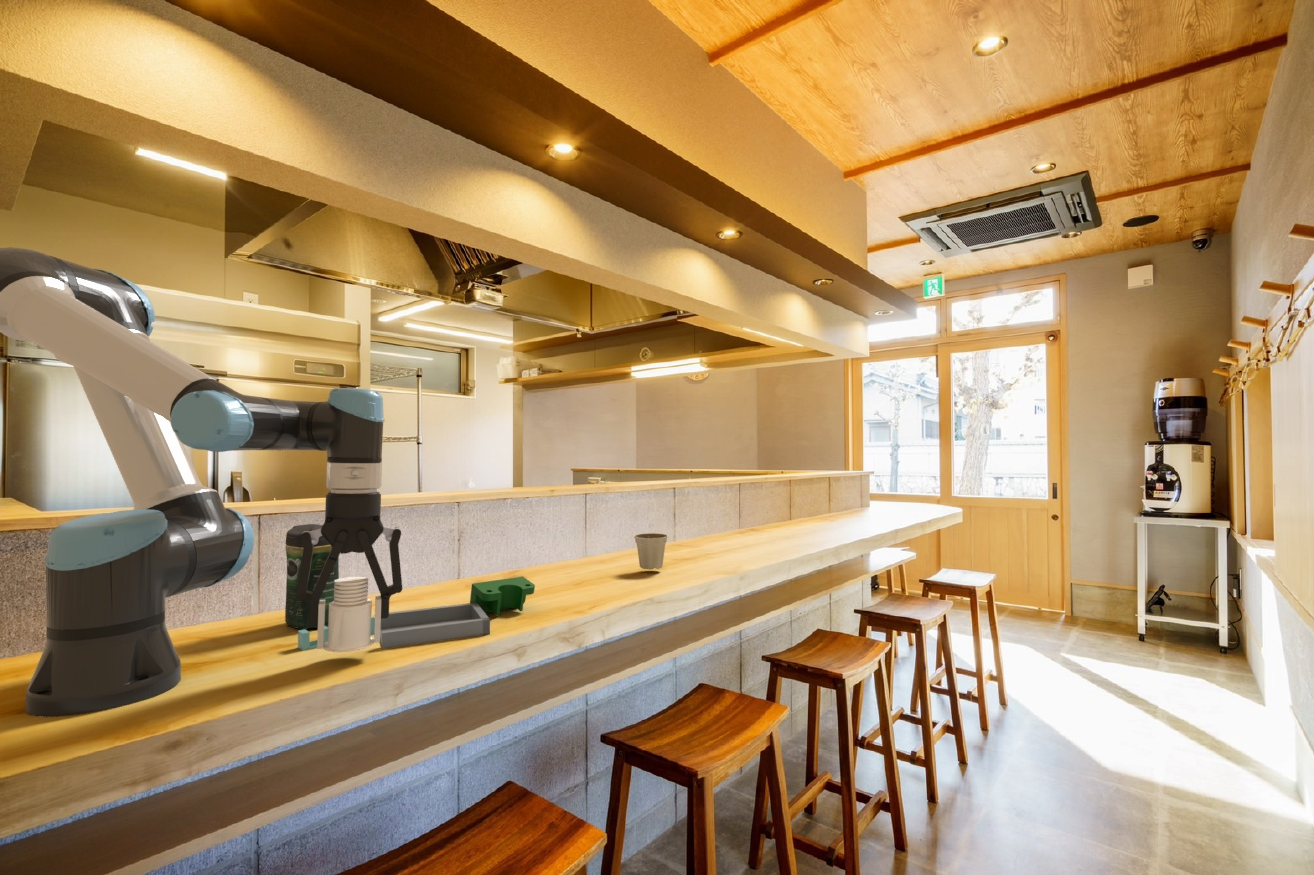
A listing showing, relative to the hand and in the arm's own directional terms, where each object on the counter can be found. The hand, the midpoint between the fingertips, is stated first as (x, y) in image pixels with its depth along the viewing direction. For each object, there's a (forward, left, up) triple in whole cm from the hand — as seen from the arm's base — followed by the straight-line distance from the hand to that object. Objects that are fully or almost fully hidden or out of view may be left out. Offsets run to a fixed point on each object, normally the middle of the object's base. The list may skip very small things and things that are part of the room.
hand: (349, 642), depth 92 cm
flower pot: (+73, +46, -4) cm, 86 cm away
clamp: (+29, +20, -5) cm, 35 cm away
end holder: (+13, +11, -3) cm, 17 cm away
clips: (-2, +13, -3) cm, 13 cm away
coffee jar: (-6, +28, -4) cm, 29 cm away
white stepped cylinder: (0, 0, -1) cm, 1 cm away
